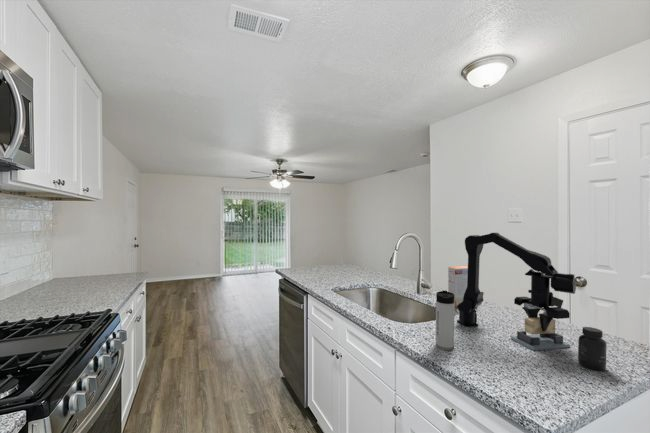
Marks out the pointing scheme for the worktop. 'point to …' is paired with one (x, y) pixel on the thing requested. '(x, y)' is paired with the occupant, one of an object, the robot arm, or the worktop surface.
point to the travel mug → (445, 320)
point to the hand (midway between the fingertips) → (539, 329)
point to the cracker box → (457, 283)
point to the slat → (538, 326)
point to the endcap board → (540, 341)
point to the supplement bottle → (592, 349)
